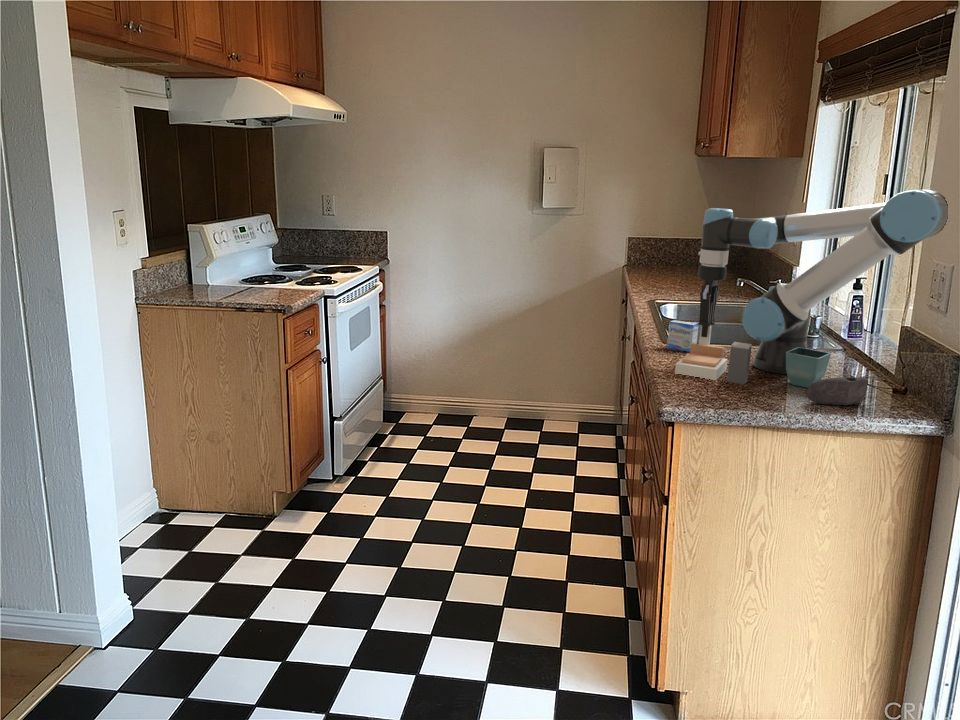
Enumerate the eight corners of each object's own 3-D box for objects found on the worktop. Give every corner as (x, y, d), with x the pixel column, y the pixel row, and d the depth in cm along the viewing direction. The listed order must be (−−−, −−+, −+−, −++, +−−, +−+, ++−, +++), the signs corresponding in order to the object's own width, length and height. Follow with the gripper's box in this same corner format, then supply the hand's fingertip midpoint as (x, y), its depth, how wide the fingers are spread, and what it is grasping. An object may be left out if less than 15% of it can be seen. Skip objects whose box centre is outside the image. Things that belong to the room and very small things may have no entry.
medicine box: (666, 348, 248) (668, 321, 246) (671, 346, 252) (674, 319, 249) (691, 353, 244) (693, 325, 242) (696, 350, 247) (699, 322, 245)
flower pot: (814, 392, 206) (819, 358, 203) (780, 384, 211) (785, 351, 209) (827, 385, 212) (831, 352, 210) (793, 378, 218) (798, 346, 216)
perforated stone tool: (809, 406, 193) (812, 378, 192) (801, 400, 198) (804, 373, 197) (871, 409, 193) (876, 381, 191) (862, 402, 198) (866, 375, 196)
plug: (747, 380, 215) (751, 344, 212) (744, 384, 211) (748, 347, 208) (730, 377, 217) (734, 341, 214) (726, 381, 213) (731, 344, 210)
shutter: (723, 358, 224) (724, 347, 223) (715, 366, 215) (716, 354, 214) (691, 354, 228) (692, 343, 227) (681, 361, 219) (682, 350, 218)
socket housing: (726, 369, 225) (727, 359, 225) (715, 380, 213) (717, 369, 213) (687, 363, 230) (688, 353, 230) (674, 374, 218) (675, 363, 217)
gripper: (705, 261, 230) (696, 341, 236) (693, 265, 219) (684, 349, 225) (731, 263, 227) (722, 345, 233) (721, 268, 216) (711, 353, 222)
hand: (703, 347), depth 229 cm, fingers closed
